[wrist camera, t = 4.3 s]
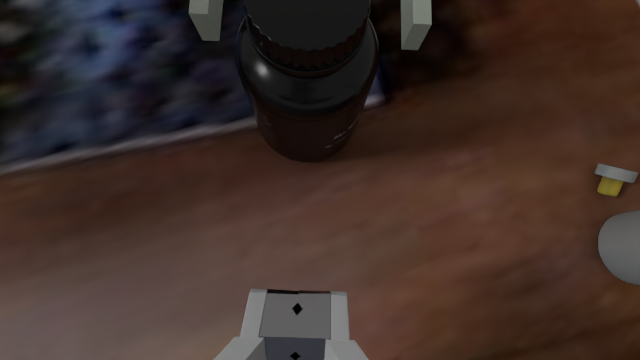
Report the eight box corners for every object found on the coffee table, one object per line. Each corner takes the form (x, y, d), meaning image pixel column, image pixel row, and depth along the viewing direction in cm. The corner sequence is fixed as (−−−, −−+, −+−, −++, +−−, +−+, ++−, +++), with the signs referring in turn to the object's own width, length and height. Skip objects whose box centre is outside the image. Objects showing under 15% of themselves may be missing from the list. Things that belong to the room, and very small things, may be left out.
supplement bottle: (355, 166, 24) (399, 86, 12) (254, 161, 24) (201, 77, 12) (357, 73, 25) (398, -80, 14) (262, 68, 25) (220, -90, 14)
